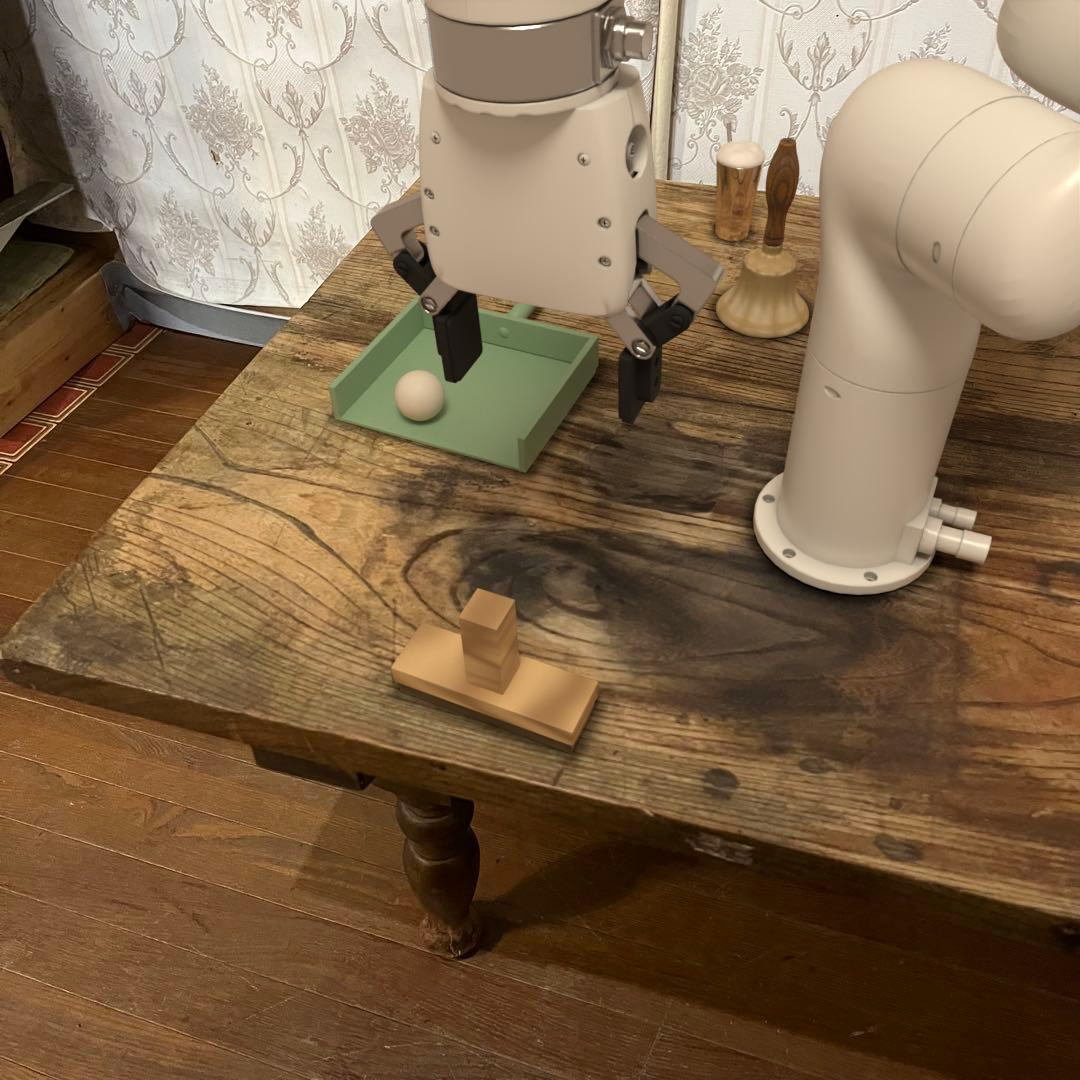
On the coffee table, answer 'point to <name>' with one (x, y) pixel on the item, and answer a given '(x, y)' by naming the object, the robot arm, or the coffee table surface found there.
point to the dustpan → (473, 385)
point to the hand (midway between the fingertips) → (547, 386)
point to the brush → (495, 676)
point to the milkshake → (736, 186)
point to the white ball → (419, 395)
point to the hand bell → (769, 264)
